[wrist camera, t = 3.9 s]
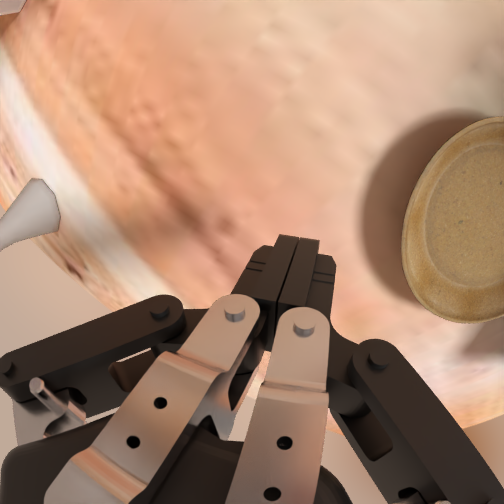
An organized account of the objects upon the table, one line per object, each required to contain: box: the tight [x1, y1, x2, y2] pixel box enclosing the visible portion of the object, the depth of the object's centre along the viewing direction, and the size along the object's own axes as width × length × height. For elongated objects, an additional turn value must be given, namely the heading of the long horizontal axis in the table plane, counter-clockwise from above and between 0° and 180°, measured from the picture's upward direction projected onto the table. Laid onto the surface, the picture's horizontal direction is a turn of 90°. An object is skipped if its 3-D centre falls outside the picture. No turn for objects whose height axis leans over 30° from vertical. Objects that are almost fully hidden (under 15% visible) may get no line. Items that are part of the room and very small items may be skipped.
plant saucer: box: [401, 117, 504, 324], centre depth 12 cm, size 15×15×3 cm
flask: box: [0, 178, 60, 251], centre depth 22 cm, size 7×7×10 cm
